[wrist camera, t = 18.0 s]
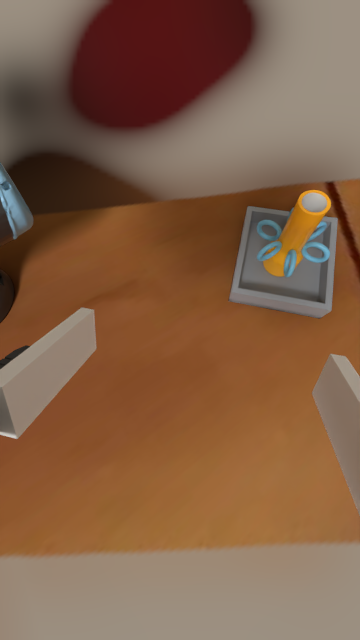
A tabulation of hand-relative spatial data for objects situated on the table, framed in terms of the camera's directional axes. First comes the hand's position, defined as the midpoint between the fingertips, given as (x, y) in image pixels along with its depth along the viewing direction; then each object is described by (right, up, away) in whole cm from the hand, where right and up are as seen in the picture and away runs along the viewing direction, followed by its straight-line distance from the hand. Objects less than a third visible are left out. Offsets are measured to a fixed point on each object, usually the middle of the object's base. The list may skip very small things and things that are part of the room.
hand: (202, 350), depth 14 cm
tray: (+17, +12, +33) cm, 39 cm away
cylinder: (+17, +12, +33) cm, 39 cm away
